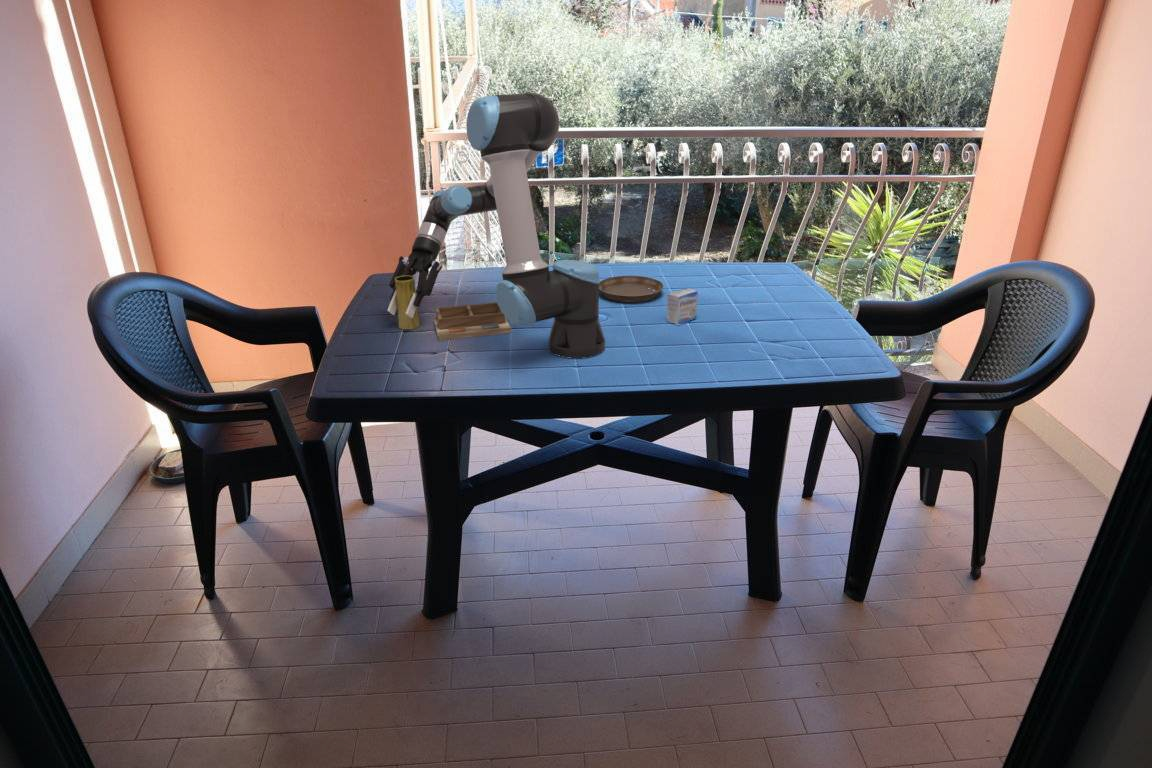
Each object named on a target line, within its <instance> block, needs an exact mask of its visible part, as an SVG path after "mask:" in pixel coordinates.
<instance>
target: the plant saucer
mask: <svg viewBox="0 0 1152 768" xmlns="http://www.w3.org/2000/svg"><path fill="white" fill-rule="evenodd" d="M599 282H600V284H599V293H601V294H602V295H603V296H604V297H605V298H607V299H609V300H611V301H614V300H615V302H619V301H620V303H629V302H633V303H642V301H643V302H647V301H651V300H653V299H654V298H655V297H657V296H658V295H659V294H660V293H661V292H662V290H663V289H664V287H665V286H664V283H663V282H661V281H659V280H658V279H655V278H652V277H648V276H639V275H617V276H612V277H608V278H605V279H602V280H601V281H600V280H599ZM648 288H650V289H648ZM653 290H655V291H653ZM652 298H653V299H652Z"/></svg>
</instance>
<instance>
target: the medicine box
mask: <svg viewBox="0 0 1152 768" xmlns="http://www.w3.org/2000/svg"><path fill="white" fill-rule="evenodd" d="M698 292H699V291H697V290H695V289H692V288H690V287H689V288H688V287H686V288H684V289H680V290H675V291H673V292H669V293H667V308H666V311H667V312H666V322H667V321H670V322H672V323H675V324H681V323H683V322H687V321H689V322H691V321H690V320H692V319H695V320H697V313H698V311H697V310H698V309H697V308H698ZM692 321H693V320H692ZM670 322H669V323H670ZM672 323H671V324H672ZM687 323H688V322H687ZM675 324H674V325H675ZM681 325H682V324H681Z"/></svg>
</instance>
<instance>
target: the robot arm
mask: <svg viewBox="0 0 1152 768" xmlns="http://www.w3.org/2000/svg"><path fill="white" fill-rule="evenodd" d="M559 130H560V117H559V113H558V111H557V109H556V107H555V105H554V103H553V102H551V101H550V100H549V99H548V98H546V97H545V96H544V95H542V94H539V93H536V92H535V93H534V92H525V93H524V92H523V93H510V94H506V93H505V94H491V95H487V96H482V97H480V96H479V97H478V98H476V99H475V100H474V101H473V102H472V103H471V104H470V107H469V109H468V113H467V117H466V136H467V140H468V143H470V147H472V149H474V150H476V151H478V152H479V153H480V158H481V160H483V162H485V163H487V165H488V167H489V171H490V175H489V178H488V180H487V181H486V182H485V183H484V184H481V185H480V184H479V185H473V186H467V187H466V186H463V185H461V184H454V185H452V186H450V187H448V188H447V189H445V190H437V191H435V192H434V194H433V196H432V198H431V199H430V201H429V205H428V207H427V210H426V213H425V215H424V218H423V220H422V222H421V225H420V227H419V229H418V232H417V234H416V238H414V241H413V244H412V246H411V253H410V254H409V255H408V256H406V257H405V256H404V257H403V256H401V255H400V256H399V258H398V263H397V266H396V268H395V270H394V272H393V275H392V277H391V279H390V282H389V284H388V286H389V288H390V289H392V293H391V296H390V298H389V300H390V303H389V305H388V308H387V312H389V313H390V314H391V315H393V316H395V315H396V312H397V311H398V306H397V295H396V285H395V278H396V277H398V276H403V275H410V276H413V277H414V276H415V275H416V274H417V273H418V277H417V278H418V280H417V288H416V289H415V292H416V293H413V296H412V298H411V301H410V303H409V306H408V308H407V311H406V313H405V314H406V315H407V316H409V317H410V318H413V316H414V313H415V311H416V308H417V309H418V308H419V307H420V306H421V304H422V300H423V298H425V297H430V296H431V295H432V292H433V289H434V286H435V284H436V281H437V278H438V275H439V273H440V271H441V270H442V269H443V265H442V264H441V263H440V262H439V261H438V260H436V259H437V258H438V257H439V254H440V251H441V249H442V248H441V247H442V246H443V243H444V241H445V240H446V239H445V238H446V236H447V233H448V230H449V229H450V226H451V224H452V221H454V220H456V219H457V218H458V217H462V216H469V215H475V214H479V213H486V212H495V211H496V213H497V218H498V224H499V229H500V235H501V239H502V246H503V252H504V257H505V262H506V265H505V267H504V269H503V270H502V271H501V276H502V280H500V281H499V282H498V283H497V284H496V290H495V295H496V300H497V301H496V302H498V304H499V307H500V309H501V311H502V313H503V314H504V316H505V317H506V319H507V321H508V322H509V323H511V324H513V325H515V326H525V325H532V324H535V323H538V322H542V321H546V320H550V319H553V322H552V327H551V328H550V329H551V330H550V333H549V336H548V339H547V342H548V343H547V344H548V345H547V348H549V349H548V351H549V350H550V351H551V352H552V353H551V352H550V351H549V352H550V353H551V354H553V353H554V354H553V355H555V354H557V355H560V356H559V357H561V356H564V357H563V358H565V357H571V358H570V359H584V358H583V357H587V358H591V357H590V356H592V357H595V356H598V355H600V354H601V353H603V352H604V351H605V349H606V338H605V334H604V331H603V329H602V326H601V323H600V320H599V319H600V314H599V313H600V308H599V306H600V303H599V302H600V301H599V300H600V299H599V298H600V295H599V294H600V290H599V284H600V275H599V270H598V267H597V266H595V265H594V264H592V263H589V262H586V261H581V260H574V259H561V260H557V261H555V262H553V264H552V267H551V268H552V270H550V267H549V264H548V263H546V262H545V261H544V260H543V259H542V256H541V251H540V245H539V238H538V233H537V226H536V222H535V221H536V220H535V214H534V209H533V208H534V207H533V203H532V202H533V201H532V197H531V191H530V185H529V178H528V171H529V169H530V168H531V167H532V166H533V164H534V163H535V161H536V160H537V158H539V156H540V155H541V154H542V152H545V151H548V150H549V149H550V148H551V147H552V145H553V143H554V142H555V140H556V139H557V136H558V133H559ZM603 350H604V351H603ZM602 351H603V352H602ZM599 353H600V354H599ZM597 354H598V355H597ZM557 355H556V356H557ZM594 355H595V356H594Z"/></svg>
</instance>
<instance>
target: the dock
mask: <svg viewBox="0 0 1152 768" xmlns="http://www.w3.org/2000/svg"><path fill="white" fill-rule="evenodd" d="M435 316H436V317H433V324H434V327H435V328H434V329H435V331H436V334H437V339H438V341H445V340H454V339H455V340H456V339H463V338H475V337H483V336H484V337H485V336H492V335H493V336H496V335H503V334H511V333H512V327H511V325H510V322H509V320H507V318H506V317H505V316H504V314H503V313H502V311H501V309H500V307H499V304H498V301H496V302H495V301H494V302H484V303H474V304H473V303H472V304H464V305H463V304H462V305H453V306H443V307H441V306H440V307H435Z"/></svg>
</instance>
